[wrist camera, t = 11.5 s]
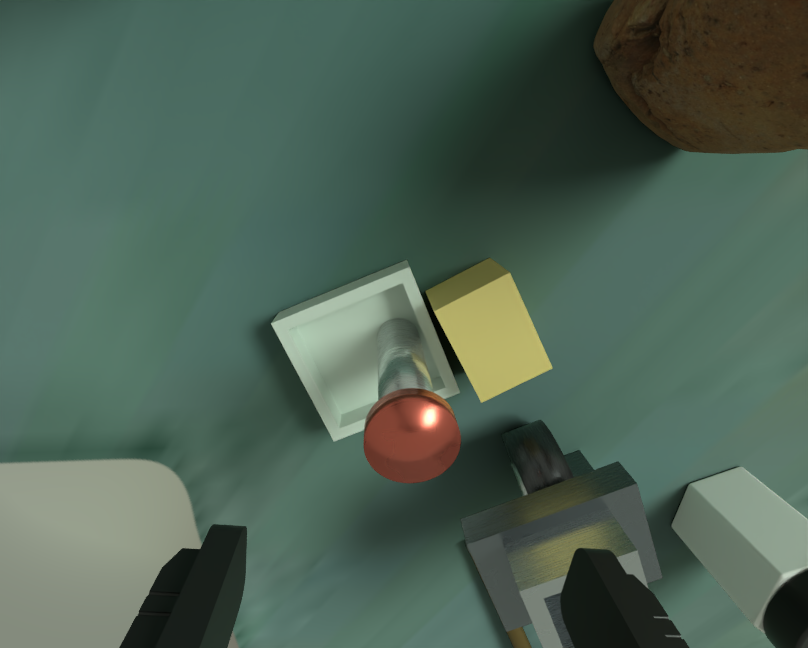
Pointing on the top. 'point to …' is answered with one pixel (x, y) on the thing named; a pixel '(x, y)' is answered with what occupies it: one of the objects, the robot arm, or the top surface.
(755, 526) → the jar
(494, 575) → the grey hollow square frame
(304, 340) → the tray
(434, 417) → the pin
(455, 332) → the block
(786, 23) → the block
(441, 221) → the top surface
